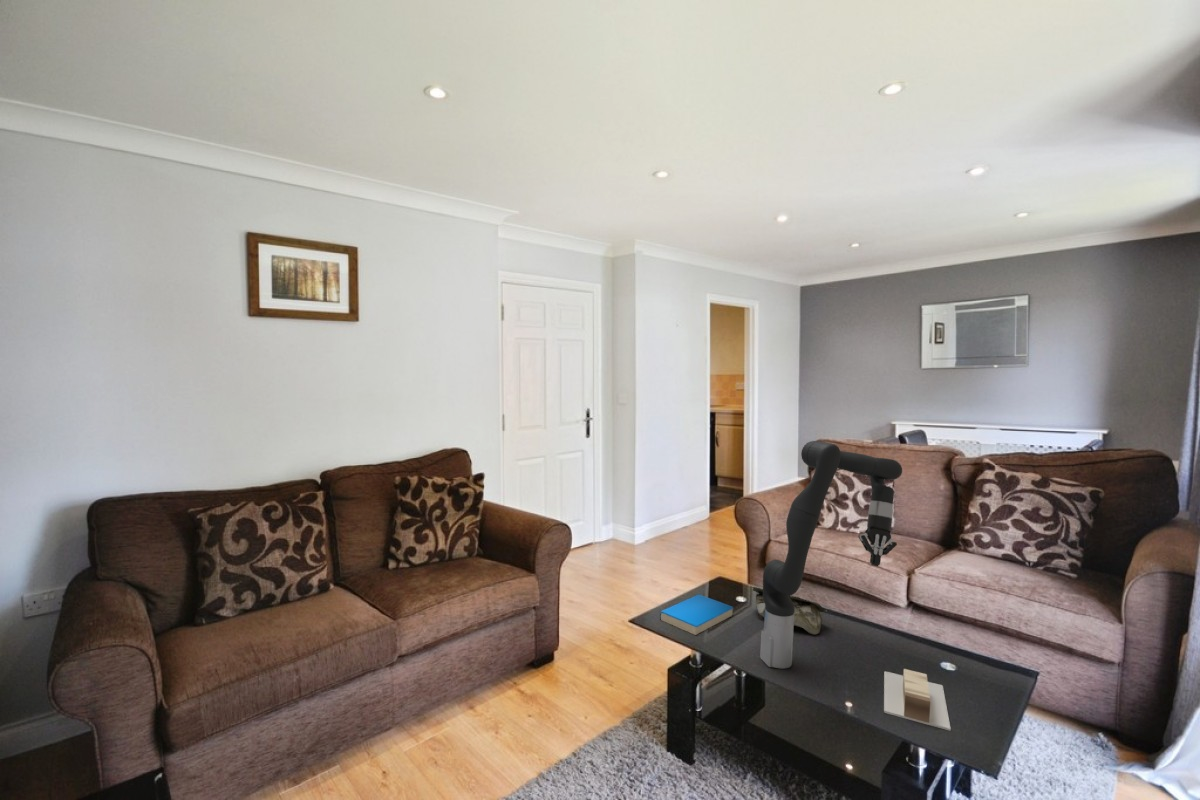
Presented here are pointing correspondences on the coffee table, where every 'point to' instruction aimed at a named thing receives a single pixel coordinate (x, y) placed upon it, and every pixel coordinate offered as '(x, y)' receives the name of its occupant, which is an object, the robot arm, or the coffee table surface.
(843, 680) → the coffee table surface
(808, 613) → the weathered driftwood
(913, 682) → the maple block
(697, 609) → the book
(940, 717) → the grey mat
